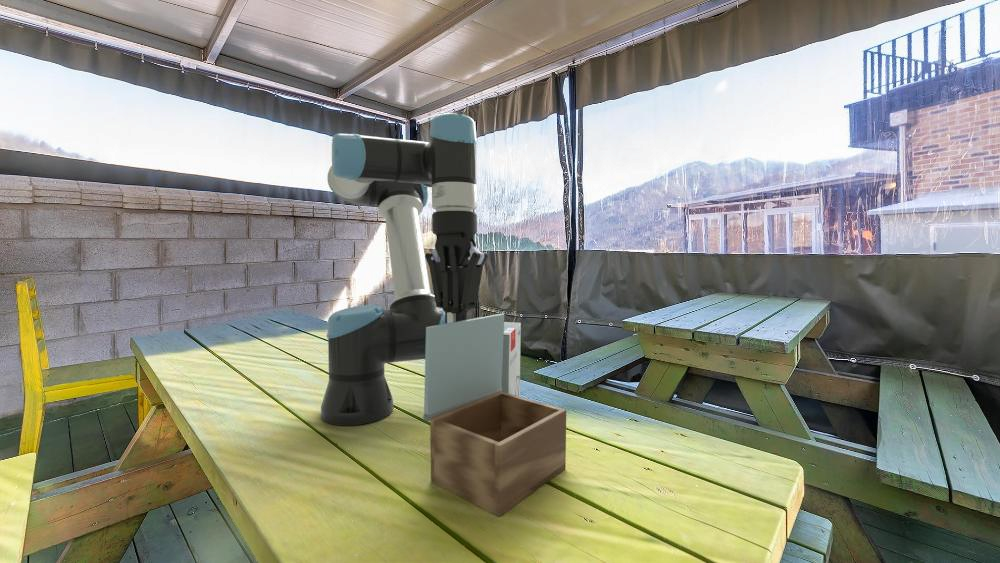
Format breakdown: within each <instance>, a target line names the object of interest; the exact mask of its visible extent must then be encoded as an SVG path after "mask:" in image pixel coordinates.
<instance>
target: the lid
mask: <svg viewBox="0 0 1000 563" xmlns="http://www.w3.org/2000/svg"><path fill="white" fill-rule="evenodd" d="M504 322H505V314H504V313H498V314H497V313H496V314H491V315H487V316H481V317H474V318H470V319H467V320H463V321H458V322H452V323H446V324H441V325H435V326H430V327H426V352H425V359H424V361H425V363H424V402H423V404H424V407H423V408H424V410H423V416H422V418H423V420H424V422H429V421H430V419H432V418H435V417H437V416H440V415H443V414H445V413H448V412H450V411H453V410H455V409H458V408H460V407H463V406H465V405H468V404H470V403H473V402H476V401H478V400H481V399H483V398H486V397H488V396H491V395H493V394H496V393H498V392H502V388H501V386H502V362H503V339H504Z"/></svg>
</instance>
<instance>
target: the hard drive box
mask: <svg viewBox="0 0 1000 563" xmlns="http://www.w3.org/2000/svg"><path fill="white" fill-rule="evenodd" d="M521 328H522V323H521V322H515V321H514V322H513V321H512V322H511V321H510V322H509V321H504V339H503V362H502V386H501V388H502V392H504V393H508V394H511V395H515V396H518V397H521V337H522V336H521V335H522V334H521V333H522V332H521V331H522V329H521Z"/></svg>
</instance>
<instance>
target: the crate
mask: <svg viewBox="0 0 1000 563" xmlns="http://www.w3.org/2000/svg"><path fill="white" fill-rule="evenodd" d="M429 423H430V424H429V425H430V426H429V428H430V429H429V430H430V432H429V433H430V438H429V440H430V482H431V483H433V484H435V485H437V486H438V487H440V488H442V489H445V490H447V491H448V492H450V493H452V494H454V495H456V496H458V497H460V498H461V499H464V500H465V501H467V502H469V503H470V504H473V505H475V506H477V507H480V509H482V510H485V511H487V512H488V513H490V514H493V515H495V516H496V517H498V518H501V517H502V516H504V515H505V514H506V513H508V512H509V511H510V510H512V509H513V508H514V507H516V506H517V505H518V504H520V503H521V502H522V501H524V500H525V499H526V498H528V497H529V496H531V495H532V494H533V493H535V492H536V491H538V490H539V489H540V488H542V487H543V486H544V485H545V484H547V483H548V482H550V481H551V480H552V479H554V478H555V477H556V476H557V475H559V474H560V473H562V472H563V471H564V470H566V467H567V466H566V460H567V459H566V458H567V457H566V454H567V452H566V450H567V409H564V408H560V407H557V406H555V405H554V406H553V405H550V404H548V403H543V402H540V401H537V400H531V399H528V398H525V397H522V396H520V397H518V396H515V395H511V394H508V393H504V392H498V393H496V394H493V395H491V396H488V397H486V398H483V399H481V400H478V401H476V402H473V403H470V404H468V405H465V406H463V407H460V408H458V409H455V410H453V411H450V412H448V413H445V414H443V415H440V416H437V417H435V418H432V419H430V422H429Z"/></svg>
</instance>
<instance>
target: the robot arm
mask: <svg viewBox="0 0 1000 563" xmlns="http://www.w3.org/2000/svg"><path fill="white" fill-rule="evenodd" d="M476 128H477V127H476V123H475V121H474V119H473V118H472V117H470V116H469V115H465V114H462V113H455V112H447V113H442V114H438V115H435V116H434V117H432V119H431V121H430V132H429V136H430V141H422V140H421V141H419V140H410V139H401V138H400V139H398V138H388V137H379V136H372V135H371V136H370V135H361V134H357V133H336V134H333V136H332V140H331V142H332V143H331V166H330V168H329V170H328V173H327V184H328V186H329V189H330V190H331V192H332V193H333V194H334V195H335V196H337V197H338V198H339V199H342V200H343V201H345V202H347V203H351V204H354V205H358V206H363V207H364V206H365V207H377V212H378V214H379V215H380V216H381V217H382V218H384V219H385V226H386V235H387V242H388V250H389V260H390V267H391V276H392V284H393V292H394V299H393V301H392V302H391V303H390V304H389V310H385V308H384V306H383V305H382V304H375V303H374V304H364V305H358V306H356V305H355V306H352V307H347V308H344V309H343V308H342V309H340V310H338V311H335V312H333V313H332V314H331V315H330V316H329V317H328V320H327V334H326V339H327V340H328V341H327V344H328V346H327V348H328V349H327V350H328V351H327V352H328V353H327V354H328V360H327V361H328V383H327V385H326V390H325V393H324V396H323V398H322V399H323V400H322V403H321V406H320V416H321V420H322V421H324V422H325V423H327V424H330V425H335V426H357V425H358V426H359V425H365V424H370V423H375V422H377V421H380V420H382V419H384V418H386V417H388V416H390V415H391V413H393V411H394V399H393V395H392V392H391V390H390V388H389V385H388V382H387V379H386V377H385V374H386V373H385V365H386V364H390V363H391V364H392V363H399V362H400V363H401V362H410V361H419V360H425V352H426V327H430V326H435V325H441V324H446V323H452V322H458V321H463V320H468V319H467V313H468V311H470V310H473V309H476V308H477V303H478V297H479V291H480V285H481V282H482V281H481V280H482V275H483V270H484V269H483V267H484V265H485V263H486V262H487V260H488V253H487V252H486V251H485V252H482V251H480V249H478V248H477V243H476V241H475V235H476V234H477V232H478V214H477V213H476V212H474V210H476V209H477V208H478V199H477V195H478V194H477V189H478V188H477V144H478V139H477V130H476ZM428 188H431V208H432V209H433V210H435V212H432V214H431V230H432V233H433V235H435V236H436V240H435V243H434V249H433V250H432V251H431V252H426V251H425V247H424V241H423V234H422V229H421V228H422V227H421V222H420V216H419V215H420V214H421V213H422V212H423V209H424V208H425V207H426V205H427V204H428V198H429V191H428ZM425 252H426V253H425ZM427 265H428V266H429V272H428V266H427ZM429 273H430V277H429ZM430 279H431V282H430ZM430 283H432V284H431V285H432V290H433V294H432V291H431V285H430Z"/></svg>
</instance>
